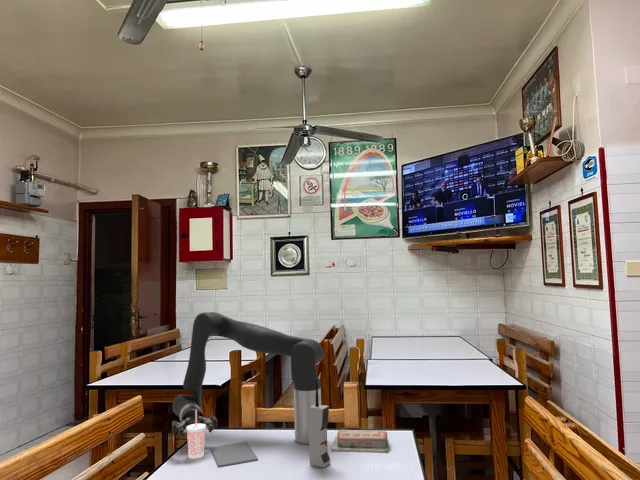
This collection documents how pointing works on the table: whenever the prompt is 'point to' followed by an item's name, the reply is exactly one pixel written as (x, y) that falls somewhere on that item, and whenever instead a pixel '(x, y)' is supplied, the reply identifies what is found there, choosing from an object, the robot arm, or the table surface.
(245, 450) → the mat
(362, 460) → the table surface
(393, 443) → the table surface
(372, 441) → the packaged product
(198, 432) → the beverage cup
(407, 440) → the table surface
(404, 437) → the table surface
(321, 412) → the vintage mobile phone
